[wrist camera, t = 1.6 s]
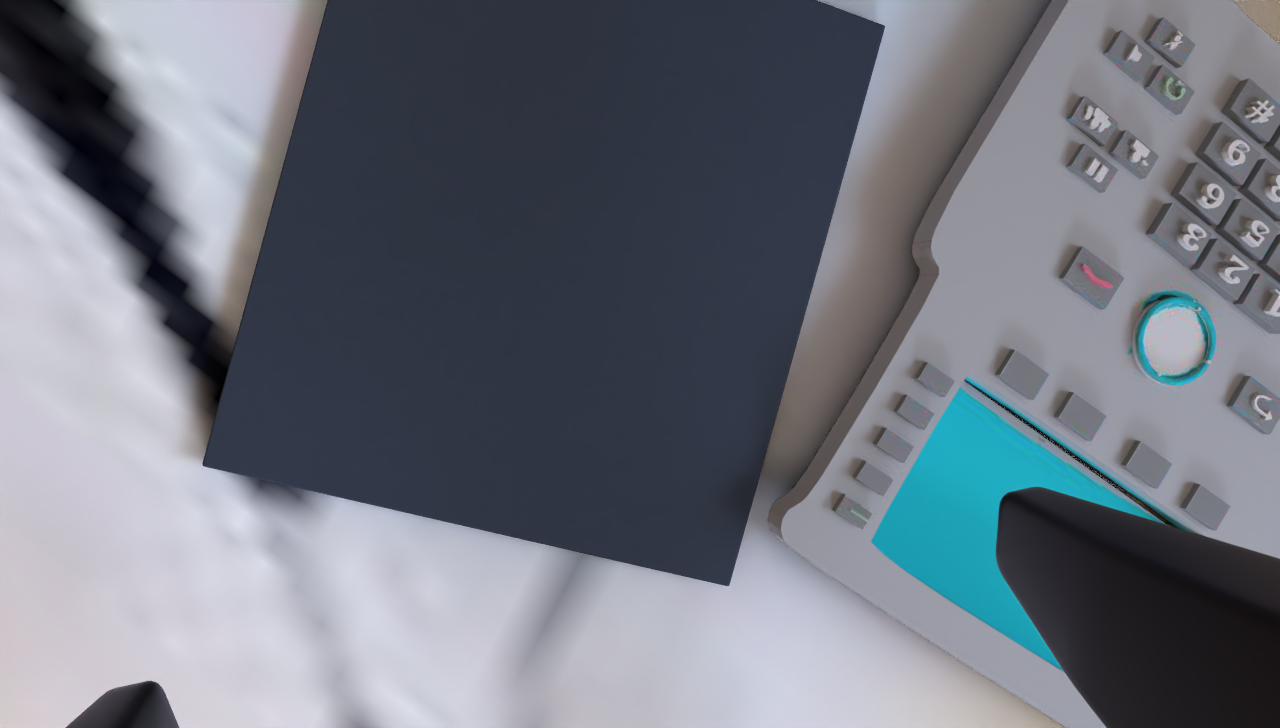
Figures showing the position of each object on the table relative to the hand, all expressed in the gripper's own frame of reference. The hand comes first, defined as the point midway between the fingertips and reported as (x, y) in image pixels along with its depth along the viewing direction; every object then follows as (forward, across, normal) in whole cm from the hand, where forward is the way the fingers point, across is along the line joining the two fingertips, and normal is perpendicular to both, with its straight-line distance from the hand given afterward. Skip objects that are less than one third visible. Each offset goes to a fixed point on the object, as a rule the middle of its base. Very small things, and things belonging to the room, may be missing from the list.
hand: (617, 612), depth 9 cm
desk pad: (+15, -1, 0) cm, 15 cm away
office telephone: (+12, -20, +8) cm, 25 cm away
